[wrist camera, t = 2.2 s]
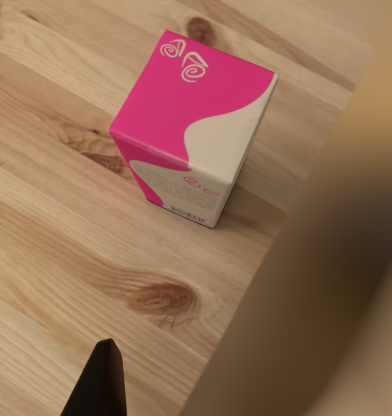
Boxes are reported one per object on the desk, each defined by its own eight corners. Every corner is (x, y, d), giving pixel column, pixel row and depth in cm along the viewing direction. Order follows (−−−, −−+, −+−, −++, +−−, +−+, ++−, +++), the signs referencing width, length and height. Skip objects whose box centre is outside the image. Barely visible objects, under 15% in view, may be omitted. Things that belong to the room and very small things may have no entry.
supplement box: (243, 163, 24) (286, 72, 13) (212, 231, 23) (232, 194, 12) (176, 134, 25) (164, 22, 14) (143, 199, 24) (100, 136, 12)
